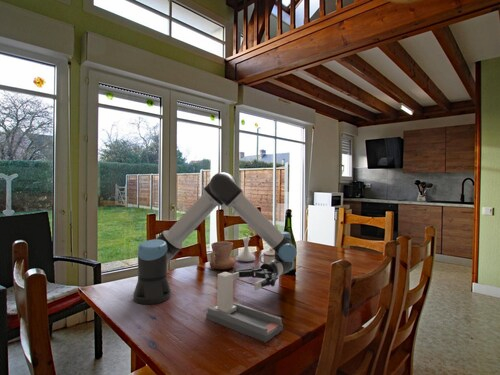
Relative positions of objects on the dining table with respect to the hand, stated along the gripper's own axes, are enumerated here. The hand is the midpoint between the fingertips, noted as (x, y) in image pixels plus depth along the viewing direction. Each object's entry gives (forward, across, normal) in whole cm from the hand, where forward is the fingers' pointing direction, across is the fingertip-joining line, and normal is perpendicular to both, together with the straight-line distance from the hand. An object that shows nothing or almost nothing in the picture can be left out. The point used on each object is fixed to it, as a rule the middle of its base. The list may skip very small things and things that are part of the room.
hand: (241, 282), depth 115 cm
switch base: (+9, -8, -10) cm, 16 cm away
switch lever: (+9, 0, -8) cm, 12 cm away
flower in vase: (-57, +41, -10) cm, 71 cm away
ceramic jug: (-35, +42, -10) cm, 56 cm away
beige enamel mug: (-52, +21, -10) cm, 57 cm away
